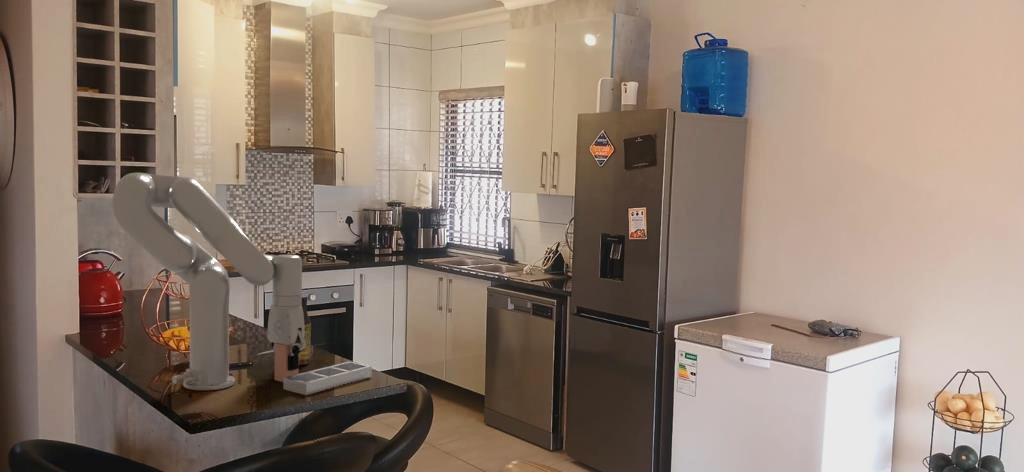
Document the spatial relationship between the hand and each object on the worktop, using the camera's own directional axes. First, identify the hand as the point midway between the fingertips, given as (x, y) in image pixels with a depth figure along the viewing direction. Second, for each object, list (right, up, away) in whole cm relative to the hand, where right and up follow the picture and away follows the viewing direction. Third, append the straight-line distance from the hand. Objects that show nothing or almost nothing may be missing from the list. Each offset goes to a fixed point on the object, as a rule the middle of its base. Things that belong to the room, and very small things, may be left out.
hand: (286, 367), depth 213 cm
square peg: (0, -3, 0) cm, 3 cm away
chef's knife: (-12, -1, +35) cm, 37 cm away
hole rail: (+12, -4, -2) cm, 13 cm away
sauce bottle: (-1, -2, +18) cm, 18 cm away
